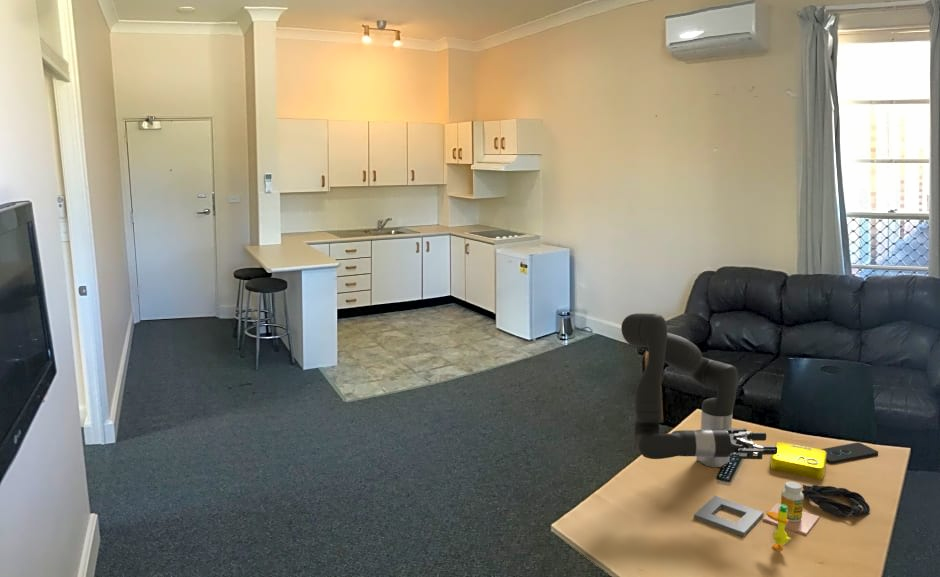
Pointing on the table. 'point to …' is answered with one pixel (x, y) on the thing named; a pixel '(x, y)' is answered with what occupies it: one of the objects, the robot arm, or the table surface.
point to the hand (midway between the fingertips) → (771, 443)
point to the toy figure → (780, 526)
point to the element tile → (799, 460)
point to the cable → (833, 506)
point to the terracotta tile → (801, 526)
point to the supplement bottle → (793, 501)
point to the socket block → (739, 528)
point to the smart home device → (848, 453)
